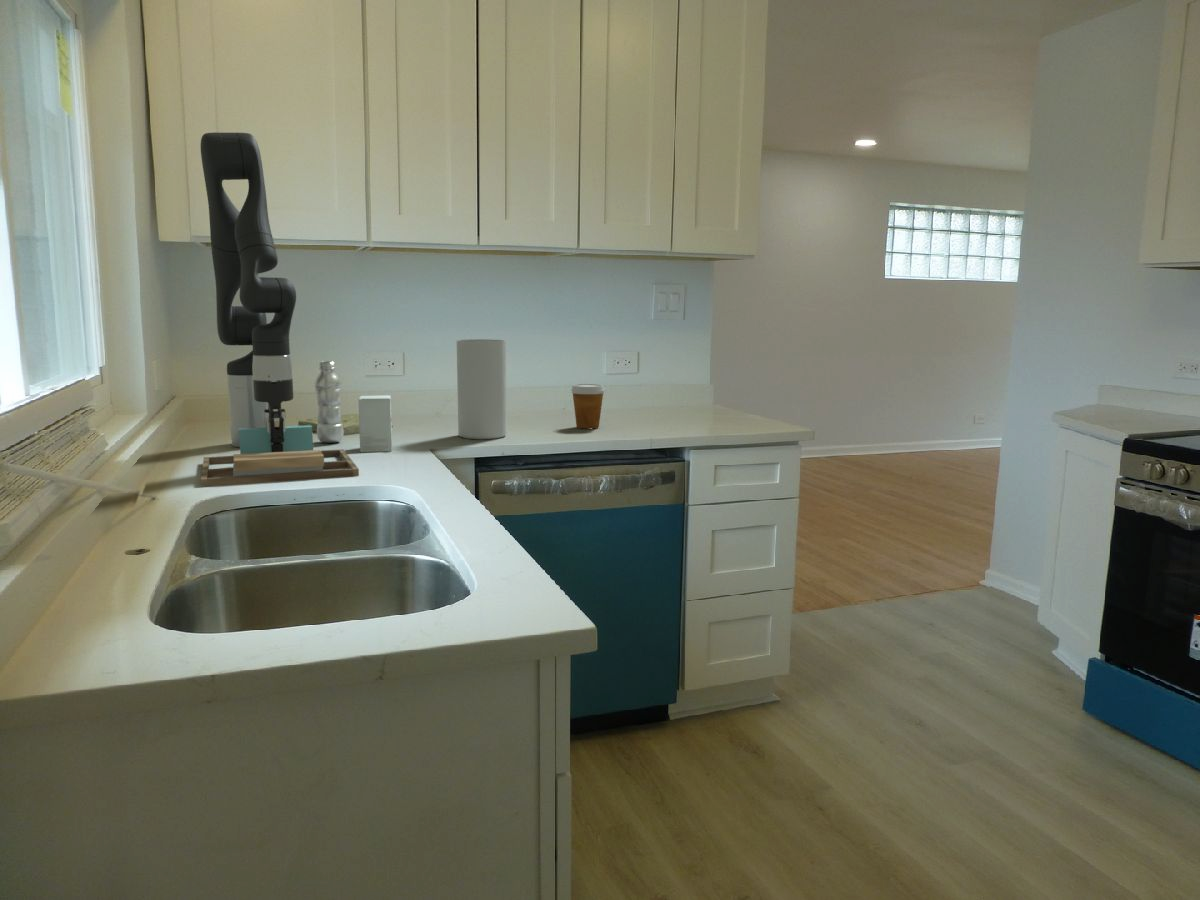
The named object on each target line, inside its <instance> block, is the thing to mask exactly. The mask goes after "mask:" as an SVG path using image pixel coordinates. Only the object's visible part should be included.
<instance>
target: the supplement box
mask: <svg viewBox="0 0 1200 900" xmlns="http://www.w3.org/2000/svg"><path fill="white" fill-rule="evenodd" d="M357 400H358V414H359V431H360V434H359V452H360V453H379V452H380V453H381V452H385V453H386V452H392V449H393V428H392V426H393V421H392V420H393V418H392V395H389V394H387V395H384V394H383V395H360V396H359V398H358V399H357Z"/></svg>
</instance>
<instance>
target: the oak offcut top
mask: <svg viewBox="0 0 1200 900" xmlns="http://www.w3.org/2000/svg"><path fill="white" fill-rule="evenodd" d="M321 451H322V450H321V449H313V450H308V451H289V452H270V453H252V454H240V453H238V454H237V453H236V454H233V456H234V463H233V464H234V471H250V470H266V469H283V468H299V467H316V466H324V462H325V457H324V455H323V454H322V452H321Z"/></svg>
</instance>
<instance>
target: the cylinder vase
mask: <svg viewBox="0 0 1200 900" xmlns="http://www.w3.org/2000/svg"><path fill="white" fill-rule="evenodd" d="M506 344H507V343H506V340H505V339H493V338H492V339H491V338H490V339H487V338H485V339H484V338H483V339H482V338H480V339H477V338H476V339H473V338H471V339H457V340H456V374H457V376H456V377H457V379H456V380H457V385H456V386H457V423H458V424H457V426H458V427H457V428H458V430H457V431H458V436H459V437H461V438H462V437H463V439H468V440H495V439H501V438H503V437H506V435H507V365H506V364H507V362H506V361H507V359H506V358H507V357H506V355H507V354H506V353H507V349H506V348H507V346H506Z"/></svg>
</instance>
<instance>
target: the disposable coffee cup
mask: <svg viewBox="0 0 1200 900" xmlns="http://www.w3.org/2000/svg"><path fill="white" fill-rule="evenodd" d="M570 391H571V393H572V399H573V408H574V415H575V425H576V428H577V427H578V428H577V429H580V428H596V429H599V428H598V427H600V421H601V413H602V404H603V399H604V398H603V396H604V394H605V391H606V390H605V387H604V385H603V384H598V383H576V384H573V385H572V387H571V389H570Z"/></svg>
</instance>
